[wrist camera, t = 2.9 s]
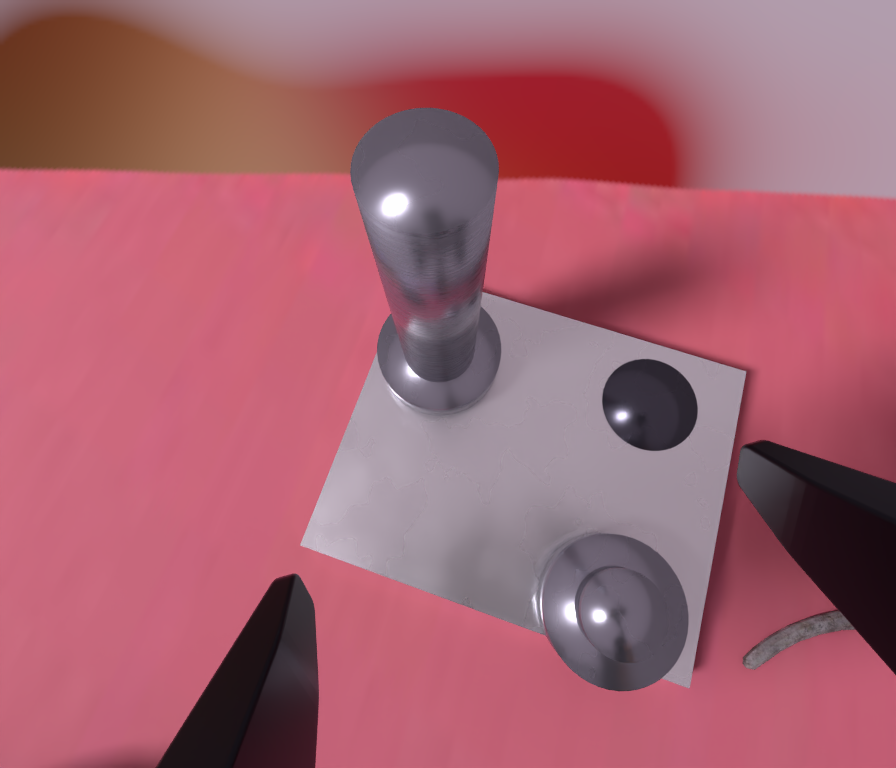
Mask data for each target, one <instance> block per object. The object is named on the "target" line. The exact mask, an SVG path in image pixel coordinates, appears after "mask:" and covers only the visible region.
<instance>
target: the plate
mask: <svg viewBox="0 0 896 768" xmlns="http://www.w3.org/2000/svg"><path fill="white" fill-rule="evenodd" d="M481 307H482V308H483V309H484V310H485V311H486V312H487V313H488V314H489V315H490V317H491V318H492V320H493V321H494V323H495V325H496V327H497V329H498V332H499V335H500V340H501V360H500V364H499V368H498V371H497V374H496V377H495V379H494V382H493V384H492V386H491V388H490V389H489V391H488V392H487V393H486V395H485V396H484V397H483V398H482V399H481V400H480V401H479V402H477V403H476V404H475V405H474V406H472V407H470V408H468V409H467V410H464V411H462V412H459V413H456V414H452V415H445V416H434V415H427V414H424V413H420V412H418V411H415V410H413V409H411V408H409V407H408V406H406V405H405V404H403V403H402V402H401V401H400V400H399V399H398V398H397V397H396V396H395V395H394V394H393V392H392V391H391V390H390V388H389V386H388V384H387V383H386V381H385V379H384V377H383V375H382V372H381V369H380V367H379V362H378V356H377V353H376V356H375V358H374V361H373V364H372V366H371V369H370V371H369V374H368V376H367V379H366V381H365V384H364V386H363V389H362V391H361V394H360V396H359V399H358V401H357V404H356V406H355V409H354V411H353V414H352V416H351V419H350V421H349V424H348V426H347V429H346V431H345V434H344V436H343V439H342V441H341V444H340V446H339V449H338V451H337V454H336V456H335V459H334V461H333V464H332V467H331V469H330V472H329V474H328V477H327V479H326V482H325V484H324V487H323V489H322V492H321V494H320V497H319V499H318V502H317V504H316V507H315V509H314V512H313V514H312V517H311V519H310V522H309V524H308V527H307V529H306V532H305V534H304V537H303V539H302V542H301V544H300V545H301V546H304V547H306V548H309V549H312V550H315V551H317V552H320V553H323V554H325V555H328V556H331V557H334V558H336V559H339V560H342V561H344V562H347V563H350V564H353V565H355V566H358V567H361V568H364V569H366V570H369V571H372V572H374V573H377V574H380V575H383V576H385V577H388V578H391V579H393V580H396V581H399V582H402V583H404V584H407V585H410V586H412V587H415V588H418V589H421V590H423V591H426V592H429V593H431V594H434V595H437V596H440V597H442V598H445V599H448V600H450V601H453V602H456V603H459V604H461V605H464V606H467V607H469V608H472V609H475V610H478V611H480V612H483V613H486V614H488V615H491V616H494V617H497V618H499V619H502V620H505V621H507V622H510V623H513V624H516V625H518V626H521V627H524V628H526V629H529V630H532V631H535V632H537V633H540V634H543V635H545V633H544V630H543V628H542V626H541V622H540V619H539V615H538V609H537V588H538V583H539V579H540V576H541V573H542V570H543V568H544V566H545V564H546V562H547V561H548V559H549V558H550V556H551V555H552V554H553V553H554V552H555V550H556V549H557V548H559V547H560V546H561V545H562V544H563V543H565V542H567V541H568V540H570V539H572V538H574V537H576V536H579V535H583V534H587V533H610V534H618V535H624V536H628V537H631V538H634V539H636V540H639V541H641V542H643V543H644V544H646V545H648V546H650V547H651V548H652V549H654V550H655V551H656V552H657V553H659V554H660V555H661V556H662V557H663V558H664V559H665V560H666V562H667V563H668V564H669V565H670V566H671V568H672V569H673V571H674V572H675V574H676V575H677V577H678V579H679V581H680V583H681V585H682V588H683V591H684V593H685V597H686V601H687V606H688V614H689V625H688V634H687V638H686V642H685V646H684V648H683V651H682V653H681V655H680V657H679V659H678V660H677V662H676V664H675V665H674V666H673V667H672V669H671V670H670V671H669V672H668V673H667V674H666V675H665V676H664V677H662V679H665V680H668V681H670V682H673V683H676V684H679V685H681V686H684V687H687V688H689V689H690V683H691V677H692V672H693V666H694V661H695V655H696V650H697V644H698V638H699V633H700V627H701V622H702V616H703V611H704V605H705V599H706V594H707V588H708V583H709V577H710V572H711V566H712V560H713V555H714V549H715V544H716V538H717V533H718V527H719V521H720V516H721V510H722V505H723V499H724V494H725V488H726V482H727V477H728V471H729V466H730V460H731V455H732V449H733V443H734V438H735V432H736V427H737V421H738V416H739V410H740V404H741V399H742V393H743V388H744V382H745V377H746V371H743V370H740V369H736V368H733V367H730V366H726V365H723V364H720V363H716V362H713V361H710V360H707V359H703V358H700V357H697V356H693V355H690V354H687V353H683V352H680V351H677V350H673V349H670V348H667V347H663V346H660V345H657V344H653V343H650V342H647V341H644V340H640V339H637V338H634V337H630V336H627V335H624V334H620V333H617V332H614V331H610V330H607V329H604V328H600V327H597V326H594V325H590V324H587V323H584V322H581V321H577V320H574V319H571V318H567V317H564V316H561V315H557V314H554V313H551V312H547V311H544V310H541V309H537V308H534V307H531V306H527V305H524V304H521V303H518V302H514V301H511V300H508V299H504V298H501V297H498V296H494V295H491V294H488V293H484V292H483V293H482V300H481ZM545 636H546V635H545Z"/></svg>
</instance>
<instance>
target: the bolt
mask: <svg viewBox="0 0 896 768" xmlns="http://www.w3.org/2000/svg"><path fill="white" fill-rule="evenodd" d="M350 173H351V182H352V186H353V190H354V193H355V196H356V199H357V203H358V206H359V209H360V213H361V216H362V219H363V222H364V226H365V229H366V232H367V235H368V239H369V242H370V245H371V248H372V252H373V255H374V258H375V262H376V265H377V268H378V271H379V275H380V278H381V281H382V284H383V288H384V291H385V294H386V298H387V301H388V304H389V307H390V311H391V314H390V315H389V317H388V318H387V320H386V321H385V323H384V325H383V327H382V329H381V332H380V335H379V339H378V344H377V356H378V362H379V367H380V369H381V372H382V375H383V377H384V379H385V381H386V383H387V384H388V386H389V388H390V390H391V391H392V392H393V394H394V395H395V396H396V397H397V398H398V399H399V400H400V401H401V402H402V403H403V404H405V405H406V406H408V407H409V408H411V409H413V410H415V411H418V412H420V413H424V414H427V415H434V416H445V415H452V414H456V413H459V412H462V411H464V410H467V409H468V408H470V407H472V406H474V405H475V404H476V403H477V402H479V401H480V400H481V399H482V398H483V397H484V396H485V395H486V393H487V392H488V391H489V389H490V388H491V386H492V384H493V382H494V379H495V377H496V374H497V371H498V368H499V364H500V360H501V340H500V335H499V332H498V329H497V327H496V325H495V323H494V321H493V320H492V318H491V317H490V315H489V314H488V313H487V312H486V311H485V310H484V309H483V308H482V307H481V300H482V293H483V285H484V278H485V270H486V263H487V256H488V248H489V241H490V233H491V226H492V219H493V211H494V204H495V196H496V189H497V181H498V173H499V167H498V159H497V154H496V151H495V148H494V146H493V144H492V142H491V141H490V139H489V138H488V136H487V135H486V134H485V132H483V130H482V129H481V128H480V127H478V126H477V125H476V124H475V123H473V122H472V121H470V120H469V119H467V118H465V117H464V116H461V115H459V114H457V113H454V112H451V111H448V110H442V109H437V108H416V109H409V110H405V111H401V112H398V113H395V114H393V115H391V116H388V117H386V118H385V119H383V120H381V121H380V122H378V123H377V124H375V125H374V126H373V127H372V128H371V129H370V130H369V131H368V132H367V133H366V134H365V135H364V136H363V138H362V139H361V140H360V142H359V143H358V145H357V147H356V149H355V152H354V154H353V157H352V162H351V171H350Z"/></svg>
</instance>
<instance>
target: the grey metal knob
mask: <svg viewBox="0 0 896 768" xmlns="http://www.w3.org/2000/svg"><path fill="white" fill-rule="evenodd" d="M537 609H538V615H539V619H540V622H541V626H542V628H543V630H544V633H545V635H546V637H547V639H548V640H549V642H550V644H551V645H552V646H553V648H554V649H555V650H556V652H557V653H558V654H559V656H560V657H561V658H562V660H563V661H564V662H565V663H566V664H567V666H568V667H569V668H570V669H571V670H572V671H574V672H575V673H576V674H577V675H578V676H580V677H581V678H583V679H584V680H586V681H588V682H589V683H591V684H594V685H596V686H598V687H601V688H605V689H608V690H615V691H631V690H638V689H641V688H644V687H647V686H649V685H651V684H653V683H655V682H657V681H658V680H660V679H661V678H662V677H664V676H665V675H666V674H667V673H668V672H669V671H670V670H671V669H672V667H673V666H674V665H675V664H676V662H677V660H678V659H679V657H680V655H681V653H682V651H683V648H684V646H685V642H686V638H687V634H688V625H689V614H688V606H687V601H686V597H685V593H684V591H683V588H682V585H681V583H680V581H679V579H678V577H677V575H676V574H675V572H674V571H673V569H672V568H671V566H670V565H669V564H668V563H667V562H666V560H665V559H664V558H663V557H662V556H661V555H660V554H659V553H657V552H656V551H655V550H654V549H652V548H651V547H650V546H648V545H646V544H644V543H643V542H641V541H639V540H636V539H634V538H631V537H628V536H624V535H618V534H610V533H587V534H583V535H579V536H576V537H574V538H572V539H570V540H568V541H567V542H565V543H563V544H562V545H561V546H560V547H559V548H557V549H556V550H555V552H554V553H553V554H552V555H551V556H550V558H549V559H548V561H547V562H546V564H545V566H544V568H543V570H542V573H541V576H540V579H539V583H538V588H537Z"/></svg>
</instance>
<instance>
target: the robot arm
mask: <svg viewBox="0 0 896 768" xmlns="http://www.w3.org/2000/svg"><path fill="white" fill-rule="evenodd" d="M737 480H738V483H739V485H740V487H741V489H742V490H743V492H744V493H745V494H746V496H747V497H748V498H749V500H750V501H751V503H752V504H753V505H754V507H755V508H756V509H757V511H758V512H759V514H760V515H761V516H762V518H763V519H764V520H765V522H766V523H767V525H768V526H769V527H770V529H771V530H772V531H773V533H774V534H775V536H776V537H777V538H778V540H779V541H780V542H781V544H782V545H783V546H784V548H785V549H786V550H787V552H788V553H789V554H790V555H791V556H792V558H793V559H794V560H795V561H796V562H797V564H798V565H799V566H800V567H801V568H802V569H803V570H804V571H805V573H806V574H807V575H808V576H809V577H810V578H811V579H812V581H813V582H814V583H815V584H816V585H817V586H818V587H819V588H820V590H821V591H822V592H823V593H824V594H825V595H826V596H827V598H828V599H829V600H830V601H831V602H832V603H833V604H834V606H835V607H836V608H837V609H838V610H839V611H840V612H841V613H842V615H843V616H844V617H845V618H846V619H847V620H848V621H849V623H850V624H851V625H852V626H853V627H854V628H855V629H856V630H857V632H858V633H859V634H860V635H861V636H862V637H863V638H864V640H865V641H866V642H867V643H868V644H869V645H870V646H871V647H872V649H873V650H874V651H875V652H876V653H877V654H878V655H879V657H880V658H881V659H882V660H883V661H884V662H885V663H886V665H887V666H888V667H889V668H890V669H891V670H892V671H893V672H894V674H895V675H896V483H894V482H891V481H888V480H885V479H882V478H879V477H876V476H873V475H870V474H867V473H864V472H861V471H858V470H855V469H851V468H848V467H845V466H842V465H839V464H836V463H833V462H830V461H827V460H824V459H821V458H818V457H815V456H812V455H809V454H806V453H803V452H800V451H797V450H794V449H791V448H788V447H785V446H782V445H779V444H776V443H773V442H770V441H766V440H760V441H756V442H752V443H749V444H746V445H744V446H743V447H742V448H741V451H740V456H739V463H738V469H737ZM318 705H319V685H318V663H317V644H316V624H315V609H314V604H313V600H312V598H311V596H310V594H309V593H308V591H307V589H306V587H305V585H304V583H303V582H302V580H301V578H300V577H299V575H297V574H290V575H286V576H283V577H279V578H277V579H275V580H274V581H273V582H272V584H271V585H270V587H269V588H268V590H267V592H266V593H265V595H264V596H263V598H262V600H261V601H260V603H259V604H258V606H257V607H256V609H255V611H254V612H253V614H252V615H251V617H250V619H249V620H248V622H247V623H246V625H245V627H244V628H243V630H242V631H241V633H240V634H239V636H238V638H237V639H236V641H235V642H234V644H233V646H232V647H231V649H230V650H229V652H228V654H227V655H226V657H225V658H224V660H223V662H222V663H221V665H220V666H219V668H218V669H217V671H216V673H215V674H214V676H213V677H212V679H211V681H210V682H209V684H208V685H207V687H206V689H205V690H204V692H203V693H202V695H201V696H200V698H199V700H198V701H197V703H196V704H195V706H194V708H193V709H192V711H191V712H190V714H189V716H188V717H187V719H186V720H185V722H184V723H183V725H182V727H181V728H180V730H179V731H178V733H177V735H176V736H175V738H174V739H173V741H172V743H171V744H170V746H169V747H168V749H167V751H166V752H165V754H164V755H163V757H162V758H161V760H160V762H159V763H158V765H157V766H156V768H315V762H316V743H317V725H318Z"/></svg>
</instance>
